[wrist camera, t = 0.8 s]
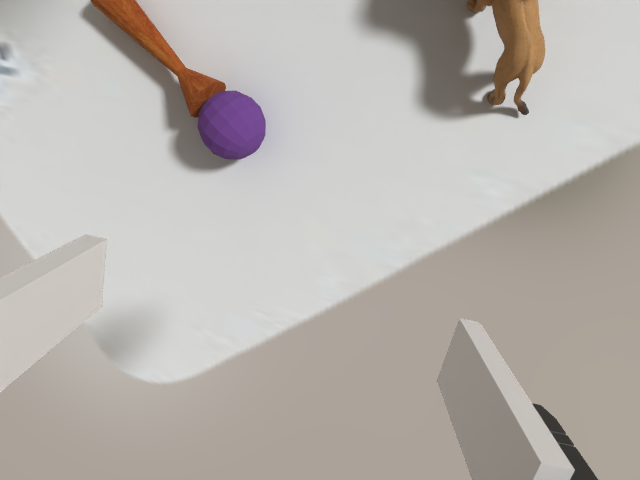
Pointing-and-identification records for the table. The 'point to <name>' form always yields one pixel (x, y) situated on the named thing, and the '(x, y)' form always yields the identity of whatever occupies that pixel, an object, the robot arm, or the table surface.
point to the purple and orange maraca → (196, 88)
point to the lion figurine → (515, 45)
